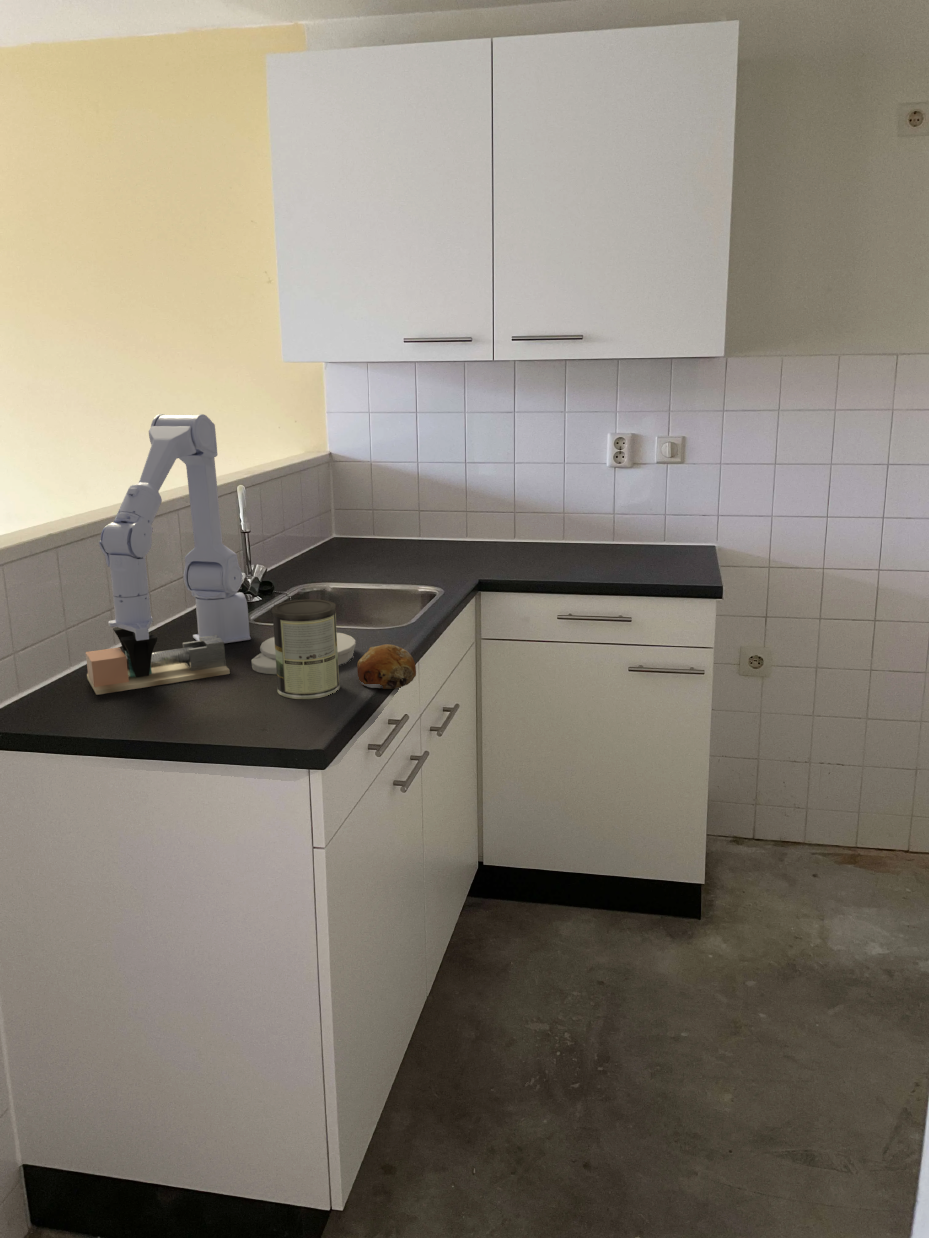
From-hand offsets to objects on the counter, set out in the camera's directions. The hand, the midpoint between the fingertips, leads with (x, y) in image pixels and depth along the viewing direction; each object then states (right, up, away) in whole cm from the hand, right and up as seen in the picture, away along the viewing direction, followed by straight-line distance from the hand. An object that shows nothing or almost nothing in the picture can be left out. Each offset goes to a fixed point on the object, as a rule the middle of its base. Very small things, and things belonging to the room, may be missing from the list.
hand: (138, 671), depth 168 cm
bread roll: (+42, -2, -2) cm, 43 cm away
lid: (+26, +1, +11) cm, 28 cm away
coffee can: (+30, -3, -6) cm, 31 cm away
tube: (+2, 0, +1) cm, 2 cm away
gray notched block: (+10, 0, +5) cm, 11 cm away
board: (+3, -1, +2) cm, 3 cm away
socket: (-4, -2, -2) cm, 5 cm away
